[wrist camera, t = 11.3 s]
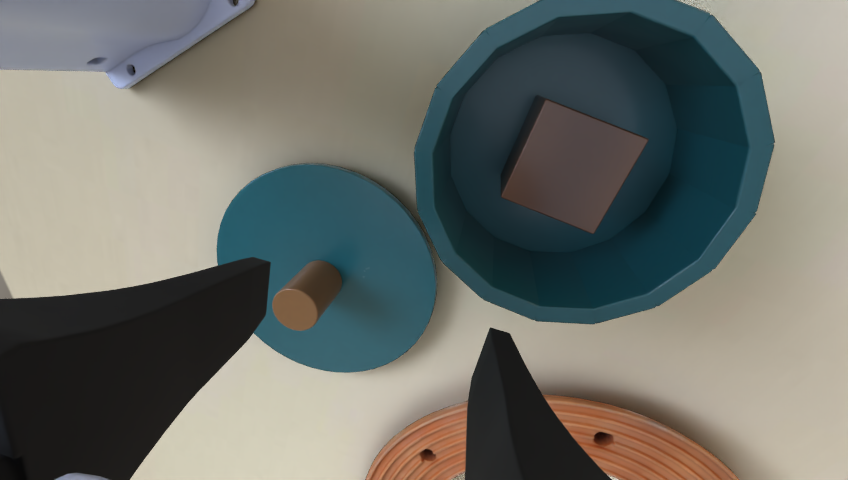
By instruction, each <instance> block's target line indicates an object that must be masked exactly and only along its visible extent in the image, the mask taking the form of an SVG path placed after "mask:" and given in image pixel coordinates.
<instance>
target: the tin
mask: <svg viewBox="0 0 848 480" xmlns="http://www.w3.org/2000/svg"><path fill="white" fill-rule="evenodd" d="M537 95H539V96H541V97H544V98H547V99H549V100H552V101H554V102H557V103H559V104H562V105H564V106H567V107H570V108H572V109H575V110H577V111H580V112H582V113H585V114H587V115H590V116H592V117H595V118H597V119H600V120H603V121H605V122H608V123H610V124H613V125H615V126H618V127H620V128H623V129H625V130H628V131H631V132H633V133H636V134H638V135H641V136H643V137H646V138H648V139H649V141H648V143H647V144H646V146H645V148H644V150H643V151H642V153H641V155H640V156H639V158H638V160H637V161H636V163H635V165H634V167H633V168H632V170H631V172H630V173H629V175H628V177H627V179H626V180H625V182H624V184H623V185H622V187H621V189H620V190H619V192H618V194H617V196H616V197H615V199H614V201H613V202H612V204H611V206H610V208H609V209H608V211H607V213H606V214H605V216H604V218H603V220H602V221H601V223H600V225H599V226H598V228H597V230H596V231H595V233H594V234H591V233H588V232H586V231H583V230H581V229H578V228H576V227H573V226H571V225H568V224H566V223H563V222H561V221H558V220H556V219H553V218H551V217H548V216H546V215H543V214H541V213H538V212H536V211H533V210H531V209H528V208H526V207H523V206H521V205H518V204H516V203H513V202H511V201H508V200H506V199H503V198H502V197H501V177H500V175H501V173H502V170H503V168H504V166H505V164H506V162H507V159H508V157H509V155H510V153H511V150H512V148H513V146H514V144H515V141H516V139H517V137H518V135H519V133H520V130H521V128H522V126H523V124H524V121H525V119H526V117H527V115H528V112H529V110H530V108H531V106H532V104H533V101H534V99H535V97H536V96H537ZM773 143H775V140H774V135H773V130H772V125H771V120H770V115H769V110H768V105H767V100H766V95H765V90H764V85H763V80H762V75H761V73H760V72H759V69H758V68H757V67H756V65H755V64H754V63H753V62H752V61H751V59H750V58H749V57H748V56H747V55H746V54H745V52H744V51H743V50H742V49H741V48H740V46H739V45H738V44H737V43H736V42H735V41H734V39H733V38H732V37H731V36H730V35H729V34H728V32H727V31H726V30H725V29H724V28H723V26H722V25H721V24H720V23H719V22H718V21H717V19H716V18H715V17H714V16H713V15H710V13H708V12H706V11H703V10H701V9H698V8H695V7H693V6H690V5H688V4H685V3H682V2H680V1H677V0H539V1H537V2H536V3H534V4H532V5H530V6H528V7H526V8H524V9H522V10H520V11H518V12H517V13H515V14H513V15H511V16H509V17H507V18H505V19H503V20H501V21H499V22H498V23H496V24H494V25H492V26H490V27H488V28H486V30H484V31H483V32H482V33H481V34H480V35H479V36H478V37H477V39H476V40H475V41H474V42H473V43H472V44H471V46H470V47H469V48H468V49H467V50H466V51H465V53H464V54H463V55H462V56H461V57H460V58H459V60H458V61H457V62H456V63H455V64H454V65H453V67H452V68H451V69H450V70H449V71H448V72H447V74H446V75H445V76H444V77H443V78H442V79H441V81H440V82H439V83H438V84H437V87H436V88H435V90H434V93H433V96H432V99H431V102H430V105H429V107H428V110H427V113H426V116H425V119H424V122H423V125H422V128H421V131H420V133H419V136H418V139H417V142H416V145H415V151H414V161H415V180H416V199H417V209H418V213H419V215H420V217H421V220H422V222H423V224H424V226H425V228H426V230H427V232H428V234H429V236H430V239H431V241H432V243H433V245H434V247H435V249H436V251H437V253H438V255H439V257H440V260H441V261H442V262H443V263H444V264H445V265H446V266H447V267H448V268H449V269H450V270H451V271H452V272H453V273H455V274H456V275H457V276H458V277H459V278H460V279H461V280H462V281H463V282H464V283H465V284H466V285H468V286H469V287H470V288H471V289H472V290H473V291H474V292H475V293H476V294H477V295H478V296H479V297H481V298H483V299H484V300H485V301H488V302H490V303H493V304H495V305H498V306H500V307H503V308H505V309H508V310H510V311H512V312H515V313H517V314H520V315H522V316H525V317H527V318H530V319H532V320H535V321H542V322H561V323H579V324H595V323H600V322H604V321H608V320H611V319H615V318H619V317H623V316H626V315H630V314H634V313H637V312H641V311H645V310H648V309H652V308H655V307H656V306H659V305H661V304H663V303H664V302H666V301H667V300H669V299H670V298H672V297H673V296H675V295H676V294H678V293H679V292H681V291H682V290H684V289H685V288H687V287H688V286H690V285H691V284H693V283H694V282H696V281H697V280H699V279H700V278H702V277H703V276H705V275H706V274H708V273H709V272H711V271H712V269H715V268H716V267H717V265H718V264H719V263H720V261H721V260H722V259H723V257H724V256H725V255H726V253H727V252H728V251H729V249H730V248H731V247H732V245H733V244H734V243H735V241H736V240H737V239H738V237H739V236H740V235H741V233H742V232H743V231H744V230H745V228H746V227H747V226H748V224H749V223H750V222H751V220H752V219H753V218H754V216H755V215H756V213H755V212H756V211H757V209H758V205H759V201H760V197H761V193H762V190H763V186H764V182H765V178H766V174H767V171H768V167H769V163H770V159H771V155H772V152H773V148H774V144H773Z"/></svg>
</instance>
